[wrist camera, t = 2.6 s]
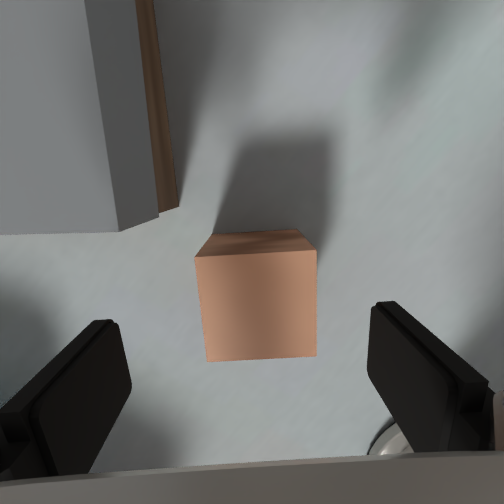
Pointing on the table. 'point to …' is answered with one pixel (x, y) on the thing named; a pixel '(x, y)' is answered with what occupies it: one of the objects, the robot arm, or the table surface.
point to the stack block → (258, 295)
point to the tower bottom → (156, 107)
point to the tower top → (73, 118)
